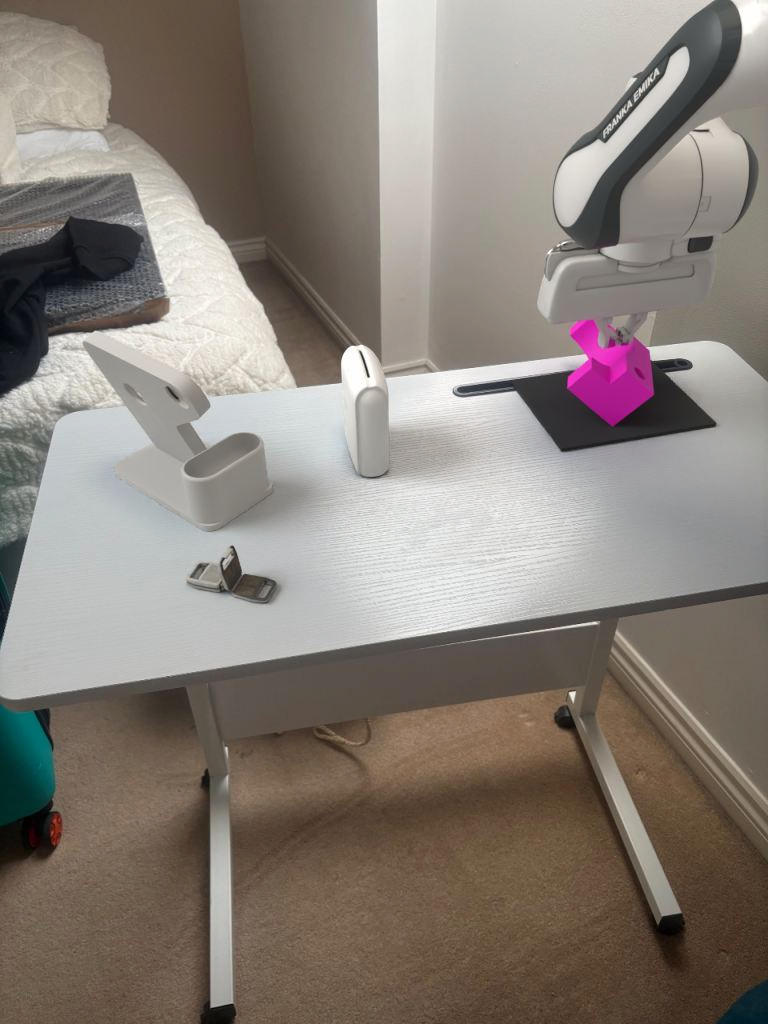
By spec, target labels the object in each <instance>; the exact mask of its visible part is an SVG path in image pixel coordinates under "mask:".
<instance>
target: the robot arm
mask: <svg viewBox="0 0 768 1024" xmlns="http://www.w3.org/2000/svg"><path fill="white" fill-rule="evenodd" d="M766 105H768V0H713V1H711V2H710V3H708V4H707V5H706V6H704V7H703V8H702V9H700V10H699V11H697V12H695V14H693V15H692V16H691V17H690V18H688V19H687V21H685V23H683V24H682V25H681V27H679V28H678V30H676V32H675V33H674V34H673V35H672V36H671V37H670V38H669V40H668V41H667V42H666V43H665V44H664V45H663V47H662V48H661V49H660V50H659V51H658V52H657V53H656V55H655V56H654V57H653V58H652V59H651V60H650V62H649V63H648V64H647V66H646V67H645V68H644V69H643V70H642V71H640V72H639V71H638V72H637V73H636V74H634V75H633V76H631V77H630V78H629V79H628V81H627V83H626V86H625V89H624V90H623V93H622V96H621V97H620V99H619V100H618V101H617V102H616V103H615V104H614V106H613V107H611V109H610V110H609V112H608V113H607V114H606V115H605V117H604V118H603V119H602V120H601V121H600V122H599V123H598V124H597V125H596V126H595V127H594V128H593V129H592V130H590V131H587V132H585V133H584V134H583V135H581V136H580V137H579V138H578V139H577V140H576V141H575V142H574V143H573V145H571V147H570V148H569V149H568V151H567V152H566V153H565V155H564V156H563V157H562V159H561V161H560V162H559V164H558V167H557V169H556V172H555V175H554V180H553V187H552V208H553V215H554V218H555V220H556V223H557V224H558V226H559V227H560V229H561V230H562V231H563V233H565V234H566V235H567V236H568V237H569V238H566V239H562V240H560V241H559V242H558V244H556V245H554V246H553V247H551V249H550V250H548V251H547V252H546V254H545V258H544V265H543V275H542V280H541V283H540V287H539V292H538V296H537V301H536V302H537V303H536V307H537V309H538V311H539V313H540V314H541V315H542V317H543V318H544V319H545V320H546V321H547V322H548V323H549V324H551V325H561V324H562V325H563V324H570V323H577V322H578V321H585V320H592V319H594V321H595V323H596V325H597V327H598V329H599V336H598V344H599V346H600V347H601V348H602V349H605V348H612V347H615V345H616V343H617V344H618V346H626V345H631V344H632V342H633V337H635V333H637V332H638V330H639V329H640V328H641V327H642V325H644V324H645V322H646V321H647V319H648V314H649V313H652V312H659V311H669V310H676V309H683V308H691V307H699V306H701V305H702V304H703V303H704V302H705V301H706V300H707V299H708V298H709V296H710V295H711V292H712V288H713V286H714V285H713V284H714V280H715V276H716V270H717V269H716V268H717V263H718V258H717V257H718V256H717V254H716V252H715V250H717V249H718V247H719V246H720V243H721V240H722V234H726V233H728V232H730V231H731V230H732V229H733V228H734V227H736V226H737V224H739V223H740V221H741V220H742V219H743V218H744V216H745V215H746V213H747V212H748V210H749V208H750V205H751V203H752V202H753V199H754V196H755V193H756V190H757V186H758V182H759V181H758V180H759V172H760V171H759V170H760V169H759V160H758V157H757V155H756V153H755V150H754V149H753V147H752V146H751V144H750V143H749V142H748V140H747V139H746V138H745V137H744V136H743V135H742V134H741V133H740V132H738V131H735V130H732V129H731V128H730V127H729V126H728V125H727V124H726V122H725V121H724V120H723V118H722V117H723V116H726V115H729V114H733V113H736V112H739V111H744V110H748V109H752V108H756V107H760V106H766ZM622 316H628V317H627V319H626V320H625V322H624V323H623V325H622V326H618V327H616V328H615V330H616V333H614V332H613V330H612V329H611V328H610V329H608V326H607V324H609V325H612V323H613V319H614V317H622ZM615 342H616V343H615Z"/></svg>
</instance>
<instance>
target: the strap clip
mask: <svg viewBox="0 0 768 1024" xmlns="http://www.w3.org/2000/svg"><path fill="white" fill-rule="evenodd" d="M228 558H229V559H228ZM225 560H227V561H226V563H225V564H223V563H224V562H225ZM201 570H203V572H202V573H201V574H200V576H199V577H198V578H195V577H196V576H197V574H198V572H199V571H201ZM185 580H186V581H185V582H186V584H187V585H189V586H190V587H192V588H194V589H197V590H202V591H208V592H213V593H221V591H228V592H230V593H231V594H232V597H235V598H238V599H240V600H241V599H242V600H243V601H244V600H245V601H248V602H252V603H266V602H268V601H269V599H270V597H271V596H272V594H273V592H274V591H275V589H276V587H277V585H278V582H277V581H276V580H275V579H272V578H269V577H267V576H260V575H255V574H249V573H244V574H243V569H242V566H241V562H240V559H239V555H238V552H237V550H236V547H235V546H234V545H228V547H227V548H226V549H225V551H224V552H223V553H222V555H221V556H220V558H219V560H218V561H217V562H213V561H209V560H207V561H206V560H204V561H203V560H202V561H198V562H196V563H195V565H194V566H193V567H192V569H191V570H190V571H189V573H188V574H187V576H186V577H185ZM265 584H266V585H270V588H269V589H268V591H267V593H266V595H265V596H264V597H261V596H260V597H259V596H258V595H259V594H260V592H261V590H262V589H263V587H264V585H265Z"/></svg>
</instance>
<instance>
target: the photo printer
mask: <svg viewBox="0 0 768 1024" xmlns="http://www.w3.org/2000/svg"><path fill="white" fill-rule="evenodd" d="M340 371H341V391H342V394H341V395H342V410H343V411H342V412H343V427H344V435H345V439H346V444H347V448H348V451H349V455H350V458H351V462H352V464H353V467H354V470H355V472H356V473H357V475H361V476H362V477H366V478H373V477H374V478H375V477H379V476H382V475H384V474H385V473H386V472H388V471H389V470H390V469H389V468H390V429H389V428H390V419H389V418H390V417H389V414H390V413H389V412H390V411H389V405H390V403H389V402H390V401H389V399H390V398H389V397H390V396H389V395H390V394H389V387H388V383H387V378H386V374H385V372H384V369H383V367H382V364H381V361H380V359H379V358H378V357H377V355H376V354H375V352H374V351H373V349H371V348H369V347H368V346H366V345H363V344H360V345H359V344H358V345H351V346H349V347H348V348H347V349H345V351H344V352H343V354H342V357H341V361H340Z"/></svg>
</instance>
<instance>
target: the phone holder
mask: <svg viewBox="0 0 768 1024" xmlns="http://www.w3.org/2000/svg"><path fill="white" fill-rule="evenodd" d="M82 346H83V348H84V350H85V351H86V353H87V354H88V355H89V357H90V358H91V360H92V361H93V363H94V364H95V365H96V367H97V368H98V370H99V371H100V372H101V373H102V375H103V376H104V378H105V379H106V380H107V382H108V383H109V384H110V386H111V388H113V390H114V392H115V393H116V394H117V396H118V397H119V399H120V400H121V401H122V402H123V404H124V405H125V407H126V408H127V410H128V411H129V412H130V414H132V416H133V418H134V419H135V420H136V422H137V423H138V424H139V426H140V428H141V429H142V430H143V432H144V433H145V434H146V436H147V437H148V439H150V441H151V442H152V443H149V444H148V445H146V446H144V447H143V448H140V449H139V450H137V451H135V452H133V453H132V454H130V455H128V456H127V457H125V458H122V459H121V460H119V461H117V462H116V463H115V464H113V467H112V470H113V473H114V476H115V478H117V479H119V480H120V481H122V482H124V483H125V484H127V485H128V486H130V487H132V488H133V489H135V490H137V491H138V492H140V493H141V494H142V495H144V496H146V497H148V498H149V499H151V500H153V501H154V502H156V503H157V504H159V505H161V506H163V507H164V508H166V509H167V510H169V511H170V512H172V513H174V514H175V515H176V516H179V517H180V518H182V519H184V520H185V521H187V522H189V523H190V524H191V525H193V526H195V527H196V528H198V529H200V530H201V531H204V532H215V531H217V530H220V529H222V528H223V527H225V526H226V525H227V524H228V523H230V522H232V521H233V520H235V519H236V518H238V517H239V516H241V515H243V514H244V513H245V512H246V511H248V510H250V509H251V508H252V507H254V506H255V505H257V504H259V503H260V502H262V501H263V500H264V499H266V498H267V497H269V496H270V495H272V494H273V492H274V481H273V480H272V479H271V478H269V475H268V466H267V460H266V451H265V444H264V443H265V442H264V440H263V438H262V437H261V436H260V435H258V434H256V433H253V432H249V431H241V432H236V433H231V434H230V435H227V436H226V437H224V438H222V439H221V440H219V441H217V442H216V443H214V444H213V445H211V446H210V445H208V444H206V443H204V442H203V440H202V439H201V438H200V436H199V434H198V432H197V431H196V430H195V428H194V427H193V425H192V423H191V422H194V421H195V422H196V421H198V420H200V419H201V418H202V416H204V414H206V413H207V411H208V410H209V409H211V402H210V400H209V398H208V397H207V395H206V394H205V392H204V391H203V389H202V388H201V387H200V385H198V383H197V382H196V381H194V380H193V378H191V377H190V376H189V375H187V374H186V373H185V372H184V371H181V370H180V369H177V368H176V367H174V366H171V365H169V364H167V363H165V362H163V361H161V360H159V359H157V358H155V357H153V356H151V355H149V354H147V353H144V352H143V351H141V350H138V349H136V348H135V347H132V346H131V345H128V344H126V343H124V342H121V341H120V340H118V339H116V338H113V337H112V336H109V335H107V334H105V333H103V332H101V331H99V330H94V331H93V332H92V333H90V334H89V336H88V337H86V338H85V339H84V340H83V341H82Z"/></svg>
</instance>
